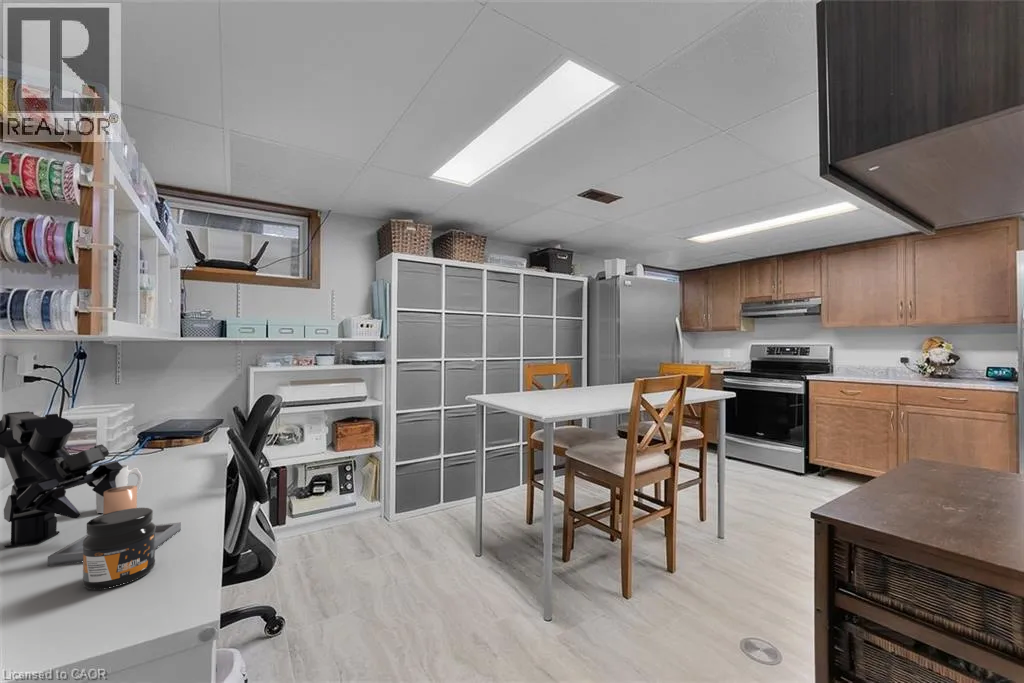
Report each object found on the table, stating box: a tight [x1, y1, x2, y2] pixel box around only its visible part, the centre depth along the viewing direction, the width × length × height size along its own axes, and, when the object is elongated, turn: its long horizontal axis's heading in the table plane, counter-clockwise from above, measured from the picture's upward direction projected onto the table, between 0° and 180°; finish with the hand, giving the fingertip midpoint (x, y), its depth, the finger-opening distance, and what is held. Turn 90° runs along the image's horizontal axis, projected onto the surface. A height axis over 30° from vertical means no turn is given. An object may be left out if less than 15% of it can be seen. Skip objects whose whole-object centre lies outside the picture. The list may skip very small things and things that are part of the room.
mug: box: [95, 464, 143, 514], centre depth 120 cm, size 10×7×12 cm, turn 145°
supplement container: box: [81, 507, 156, 590], centre depth 82 cm, size 10×10×12 cm
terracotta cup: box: [102, 485, 138, 515], centre depth 95 cm, size 6×6×12 cm
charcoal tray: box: [47, 522, 182, 567], centre depth 95 cm, size 18×13×2 cm
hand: (99, 509), depth 95 cm, fingers open, 9 cm apart
